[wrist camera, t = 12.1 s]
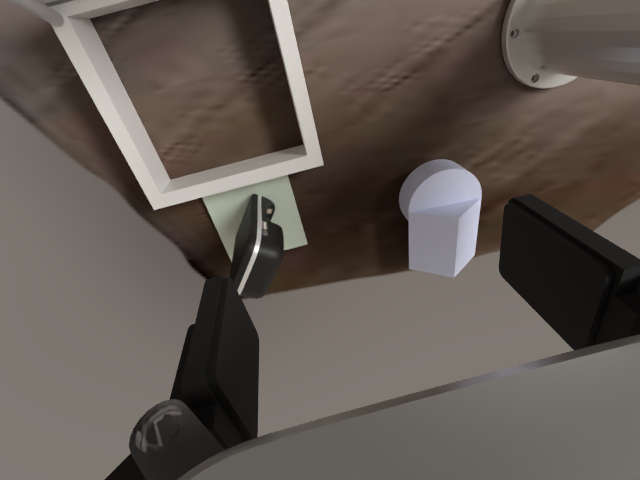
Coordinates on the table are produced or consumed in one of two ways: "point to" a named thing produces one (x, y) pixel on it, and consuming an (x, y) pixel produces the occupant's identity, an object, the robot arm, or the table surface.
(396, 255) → the table surface
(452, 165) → the wedge on round base
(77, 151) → the table surface
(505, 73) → the table surface
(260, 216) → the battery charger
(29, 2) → the white bent frame
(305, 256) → the table surface
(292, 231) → the pad
